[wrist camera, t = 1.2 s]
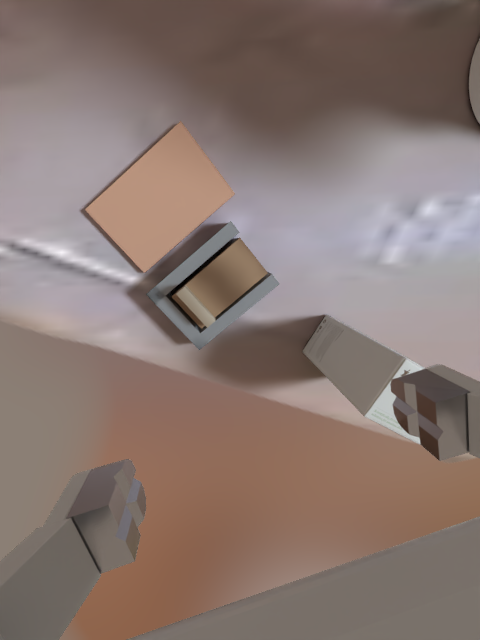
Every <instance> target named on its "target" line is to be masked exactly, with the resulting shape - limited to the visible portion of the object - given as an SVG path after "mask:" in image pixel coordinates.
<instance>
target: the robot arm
mask: <svg viewBox="0 0 480 640" xmlns="http://www.w3.org/2000/svg"><path fill="white" fill-rule="evenodd" d="M469 95H470V101H471V106H472V109H473V112H474V114H475V117H476V119H477V120H478V122H479V124H480V39H479V41H478V44H477V46H476V49H475V52H474V55H473V58H472V62H471V67H470V74H469ZM390 386H391V392H392V393H393V394H394V395H395V396H396V398H395V400H394V402H393V410H394V415H395V417H396V419H397V421H398V423H399V424H400V426H401V427H402V428H403V429H404V430H405V431H406V432H407V433H408V434H409V435H412V436H415V437H419V438H420V444H421V445H422V446H423V447H424V448H425V449H426V450H427V451H429V452H430V453H431V454H432V455H434V456H435V457H436V458H437V459H438V460H439V461H441V460H445V459H448V458H451V457H455V456H458V455H462V454H465V453H468V452H469V454H471V455H473V456H476V457H478V458H480V382H479V381H477V380H475V379H472V378H470V377H468V376H466V375H464V374H461V373H459V372H457V371H455V370H453V369H451V368H448V367H446V366H444V365H438V364H436V365H433V366H430V367H427V368H425V369H422V370H420V371H417V372H413V373H410V374H407V375H404V376H401V377H398V378H395V379H392V380H391V384H390ZM135 471H136V469H135V467H134V465H133V463H132V461H131V460H129V459H126V460H122V461H119V462H115V463H112V464H108V465H104V466H101V467H97V468H94V469H90V470H87V471H83V472H80V473H77V474H75V475H74V476H72V478H71V479H70V481H69V483H68V484H67V486H66V488H65V489H64V491H63V493H62V495H61V496H60V498H59V500H58V501H57V503H56V505H55V507H54V508H53V510H52V512H51V513H50V515H49V517H48V518H47V520H46V522H45V524H44V525H43V527H40V528H37V529H35V530H34V531H33V532H32V533H31V534H30V535H29V536H28V537H27V538H25V539H24V540H23V541H22V542H21V543H20V544H19V545H17V546H16V547H15V548H14V549H13V550H12V551H11V552H10V553H9V554H7V556H5V557H4V558H3V559H2V560H1V561H0V640H59V639H60V637H61V636H62V634H63V633H64V631H65V630H66V628H67V627H68V625H69V623H70V622H71V621H72V619H73V618H74V616H75V614H76V613H77V611H78V610H79V608H80V607H81V605H82V604H83V602H84V601H85V599H86V598H87V596H88V595H89V593H90V592H91V590H92V589H93V587H94V585H95V584H96V583H97V581H98V579H99V578H100V576H101V575H100V574H101V573H104V572H107V571H109V570H112V569H115V568H118V567H120V566H123V565H126V564H129V563H131V562H134V561H135V558H136V553H137V549H138V544H139V539H140V533H139V530H138V526H139V525H140V524H141V522H142V521H143V520H144V516H145V511H146V497H145V493H144V488H143V486H142V483H141V482H140V481H138V480H136V479H134V475H135ZM127 640H480V517H477V518H474V519H472V520H469V521H466V522H463V523H460V524H457V525H454V526H451V527H449V528H446V529H443V530H440V531H437V532H434V533H431V534H428V535H425V536H423V537H420V538H417V539H414V540H411V541H408V542H405V543H403V544H400V545H397V546H394V547H391V548H388V549H385V550H383V551H380V552H377V553H374V554H371V555H368V556H365V557H362V558H360V559H357V560H354V561H351V562H348V563H345V564H342V565H340V566H336V567H334V568H331V569H328V570H325V571H322V572H319V573H316V574H313V575H311V576H308V577H305V578H302V579H299V580H296V581H293V582H290V583H288V584H285V585H282V586H279V587H276V588H273V589H271V590H267V591H265V592H262V593H259V594H256V595H253V596H250V597H248V598H245V599H242V600H239V601H236V602H233V603H230V604H227V605H224V606H222V607H219V608H216V609H213V610H210V611H207V612H205V613H201V614H199V615H196V616H193V617H190V618H187V619H184V620H181V621H179V622H176V623H173V624H170V625H167V626H164V627H161V628H158V629H156V630H153V631H150V632H147V633H144V634H141V635H138V636H136V637H133V638H130V639H127Z"/></svg>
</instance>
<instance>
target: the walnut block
mask: <svg viewBox="0 0 480 640" xmlns="http://www.w3.org/2000/svg"><path fill="white" fill-rule="evenodd" d="M266 274H268V273H267V271H266V270H265V269H264V268H263V266H262V265H261V264H260V263H259V261H258V260H257V259H256V257H255V256H254V255H253V254H252V252H251V251H250V250H249V249H248V247H247V246H246V245H245V244H244V242H243V241H242V240H241V238H237V239H236V240H234V241H233V242H232V243H231V244H230V245H229V246H227V247H226V248H225V249H224V250H223V251H222V252H220V253H219V254H218V255H217V256H216V257H215V258H214V259H212V260H211V261H210V262H209V263H208V264H207V265H205V266H204V267H203V268H202V269H201V270H200V271H199V272H197V273H196V274H195V275H194V276H193V277H192V278H190V279H189V280H188V281H187V282H186V283H185V284H183V285H182V286H181V287H180V288H179V289H178V290H177V291H175V293H174V294H173V296H172V298H173V299H174V300H175V301H176V302H177V303H178V304H179V305H180V306H181V308H182V309H183V310H184V311H185V312H186V313H187V314H188V315H189V316H190V317H191V318H192V319H193V320H194V321H195V323H196V324H197V325H198V326H199V327H200V328H201V329H202V328H203V327H204V326H206V327H207V328H208V327H209V326H210V325H211V324H212V323H214V322H215V317H216V316H218V315H219V314H220V313H221V312H222V311H224V310H225V309H226V308H227V307H228V306H229V305H231V304H232V303H233V302H234V301H235V300H237V299H238V298H239V297H240V296H241V295H243V294H244V293H245V292H246V291H247V290H249V289H250V288H251V287H252V286H253V285H254V284H256V283H257V282H258V281H259V280H260V279H262V278H263V277H264V276H265V275H266Z"/></svg>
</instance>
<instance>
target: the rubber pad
mask: <svg viewBox="0 0 480 640" xmlns="http://www.w3.org/2000/svg"><path fill="white" fill-rule="evenodd" d="M234 194H235V193H234V192H233V190H232V189H231V188H230V186H229V185H228V184H227V182H226V181H225V180H224V178H223V177H222V176H221V174H220V173H219V172H218V170H217V169H216V168H215V166H214V165H213V164H212V162H211V161H210V160H209V158H208V157H207V156H206V154H205V153H204V152H203V150H202V149H201V148H200V146H199V145H198V144H197V142H196V141H195V140H194V138H193V137H192V136H191V134H190V133H189V132H188V130H187V129H186V128H185V126H184V125H183V124H182V122H181V121H180V122H179V123H178V124H177V125H176V126H175V127H174V128H173V129H172V130H171V131H169V132H168V133H167V134H166V135H165V136H164V137H163V138H162V139H161V140H160V141H159V142H158V143H156V144H155V145H154V146H153V147H152V148H151V149H150V150H149V151H148V152H147V153H146V154H145V155H143V156H142V157H141V158H140V159H139V160H138V161H137V162H136V163H135V164H134V165H133V166H132V167H130V168H129V169H128V170H127V171H126V172H125V173H124V174H123V175H122V176H121V177H120V178H119V179H117V180H116V181H115V182H114V183H113V184H112V185H111V186H110V187H109V188H108V189H107V190H106V191H105V192H103V193H102V194H101V195H100V196H99V197H98V198H97V199H96V200H95V201H94V202H93V203H92V204H90V205H89V206H88V207H87V208H86V209H85V210H86V211H87V212H88V213H89V215H90V216H91V217H92V218H93V219H94V220H95V221H96V222H97V223H98V224H99V225H100V226H101V227H102V228H103V230H104V231H105V232H106V233H107V234H108V235H109V236H110V237H111V238H112V239H113V240H114V241H115V242H116V243H117V245H118V246H119V247H120V248H121V249H122V250H123V251H124V252H125V253H126V254H127V255H128V256H129V257H130V258H131V260H132V261H133V262H134V263H135V264H136V265H137V266H138V267H139V268H140V269H141V270H142V271H143V272H144V273H145V272H147V271H148V270H149V269H150V268H151V267H152V266H153V265H155V264H156V263H157V262H158V261H159V260H160V259H161V258H163V257H164V256H165V255H166V254H167V253H168V252H169V251H171V250H172V249H173V248H174V247H175V246H176V245H177V244H179V243H180V242H181V241H182V240H183V239H184V238H185V237H187V236H188V235H189V234H190V233H191V232H192V231H193V230H195V229H196V228H197V227H198V226H199V225H200V224H201V223H203V222H204V221H205V220H206V219H207V218H208V217H209V216H211V215H212V214H213V213H214V212H215V211H216V210H217V209H219V208H220V207H221V206H222V205H223V204H224V203H225V202H227V201H228V200H229V199H230V198H231V197H232V196H233V195H234Z"/></svg>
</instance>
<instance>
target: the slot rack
mask: <svg viewBox="0 0 480 640" xmlns="http://www.w3.org/2000/svg"><path fill="white" fill-rule="evenodd" d="M238 233H239V231H238V230H237V229H236V227H235V226H234V225H233V223H232V222H231V221H230V222H229V223H228V224H227V225H226V226H225V227H223V228H222V229H221V230H220V231H219V232H218V233H216V234H215V235H214V236H213V237H212V238H211V239H210V240H208V241H207V242H206V243H205V244H204V245H203V246H201V247H200V248H199V249H198V250H197V251H196V252H194V253H193V254H192V255H191V256H190V257H189V258H188V259H186V260H185V261H184V262H183V263H182V264H181V265H179V266H178V267H177V268H176V269H175V270H174V271H173V272H171V273H170V274H169V275H168V276H167V277H166V278H164V279H163V280H162V281H161V282H160V283H159V284H158V285H156V286H155V287H154V288H153V289H152V290H151V291H149V292H148V293H147V294H146V295H147V296H148V297H149V298H150V299H151V300H152V301H153V302H154V303H155V304H156V305H157V306H158V307H159V308H160V309H161V311H162V312H163V313H164V314H165V315H166V316H167V317H168V318H169V319H170V320H171V321H172V322H173V323H174V324H175V325H176V326H177V327H178V328H179V329H180V330H181V331H182V332H183V334H184V335H185V336H186V337H187V338H188V339H189V340H190V341H191V342H192V343H193V344H194V345H195V346H196V347H197V348H198V349H199V350H200V349H201V348H202V347H204V346H205V345H206V344H207V343H208V342H210V341H211V340H212V339H213V338H215V337H216V336H217V335H218V334H219V333H221V332H222V331H223V330H224V329H225V328H227V327H228V326H229V325H230V324H231V323H233V322H234V321H235V320H236V319H238V318H239V317H240V316H241V315H242V314H244V313H245V312H246V311H247V310H248V309H250V308H251V307H252V306H253V305H254V304H256V303H257V302H258V301H259V300H261V299H262V298H263V297H264V296H265V295H267V294H268V293H269V292H270V291H271V290H273V289H274V288H275V287H276V286H278V285H279V283H278V281H277V280H276V279H275V278H274V276H273V275H272V274H271V273H269V272H267V273H268V274H266V275H265V276H264V277H263V278H262V279H260V280H259V281H258V282H257V283H256V284H254V285H253V286H252V287H251V288H250V289H249V290H247V291H246V292H245V293H244V294H243V295H241V296H240V297H239V298H238V299H237V300H235V301H234V302H233V303H232V304H231V305H229V306H228V307H227V308H226V309H225V310H224V311H222V312H221V313H220V314H219V315H218V316H216V317H215V322H214V323H212V324H211V325H210V326H209V327H208V328H207V327H206V326H204V327H203V328H202V329H201V328H200V327H199V326H198V325H197V324H196V323H195V321H194V320H193V319H192V318H191V317H190V316H189V315H188V314H187V313H186V312H185V311H184V310H183V309H182V308H181V306H180V305H179V304H178V303H177V302H176V301H175V300H174V299H173V298H172V294H171V293H170V291H172V290H173V289H174V288H175V287H176V286H177V285H179V284H180V283H181V282H182V281H183V280H184V279H186V278H187V277H188V276H189V275H190V274H191V273H193V272H194V271H195V270H196V269H197V268H198V267H200V266H201V265H202V264H203V263H204V262H205V261H206V260H208V259H209V258H210V257H211V256H212V255H213V254H215V253H216V252H217V251H218V250H219V249H220V248H222V247H223V246H224V245H225V244H226V243H227V242H229V241H230V240H231V239H232V238H233V237H234V236H236V235H237V234H238Z"/></svg>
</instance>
